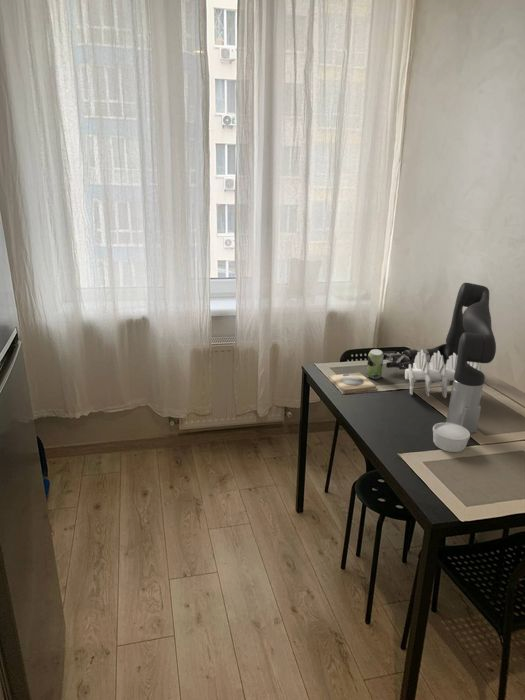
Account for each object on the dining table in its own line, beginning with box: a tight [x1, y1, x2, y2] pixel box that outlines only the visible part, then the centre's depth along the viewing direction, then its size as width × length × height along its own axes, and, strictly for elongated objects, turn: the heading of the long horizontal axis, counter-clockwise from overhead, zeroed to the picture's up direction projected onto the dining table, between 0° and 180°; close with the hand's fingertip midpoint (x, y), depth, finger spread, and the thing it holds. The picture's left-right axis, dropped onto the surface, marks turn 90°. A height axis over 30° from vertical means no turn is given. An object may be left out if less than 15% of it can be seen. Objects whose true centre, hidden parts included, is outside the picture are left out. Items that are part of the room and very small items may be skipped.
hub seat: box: [328, 372, 377, 394], centre depth 203 cm, size 14×14×2 cm
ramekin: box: [432, 422, 471, 453], centre depth 161 cm, size 11×11×5 cm
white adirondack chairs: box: [404, 350, 481, 398], centre depth 193 cm, size 18×18×25 cm
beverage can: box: [366, 348, 384, 380], centre depth 208 cm, size 6×7×12 cm
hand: (381, 361), depth 209 cm, fingers open, 8 cm apart
